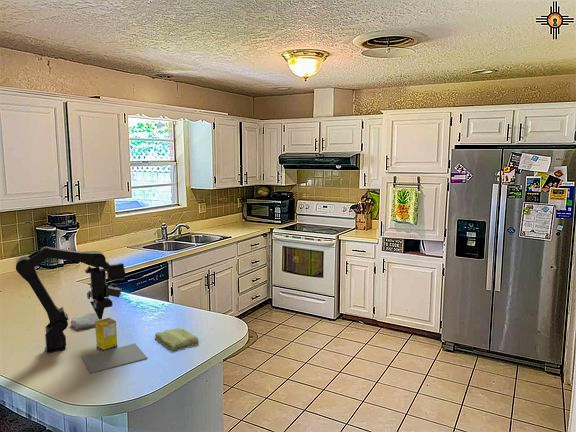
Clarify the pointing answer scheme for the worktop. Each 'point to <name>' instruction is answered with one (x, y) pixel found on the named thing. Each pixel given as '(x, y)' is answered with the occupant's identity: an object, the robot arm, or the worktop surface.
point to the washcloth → (176, 338)
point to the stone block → (85, 321)
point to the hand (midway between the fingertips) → (100, 318)
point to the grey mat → (113, 358)
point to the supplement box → (106, 334)
